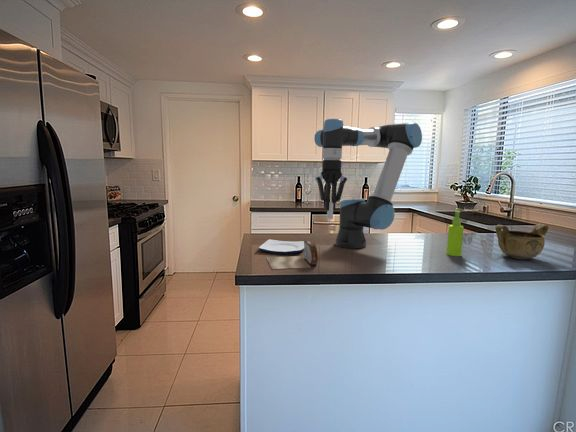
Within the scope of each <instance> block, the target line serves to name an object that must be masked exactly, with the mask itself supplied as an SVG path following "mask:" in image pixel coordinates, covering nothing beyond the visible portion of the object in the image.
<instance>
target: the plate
mask: <svg viewBox="0 0 576 432" xmlns="http://www.w3.org/2000/svg"><path fill="white" fill-rule="evenodd" d="M304 241H305V240H303V241H302V240H301V241H299V240H298V241H287V240H286V241H285V240H276V239H267V240H266V241H265V242H263V244H261V245H260V246H259V247H258V250H259V251H262V252H265V253H270V254H276V255H278V254H279V255H292V254H293V255H294V254H298V253H300V252H303V250H304Z"/></svg>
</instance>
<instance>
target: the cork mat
mask: <svg viewBox="0 0 576 432" xmlns="http://www.w3.org/2000/svg"><path fill="white" fill-rule="evenodd" d="M265 259H266V261H267V263H268V264H269V266H270V268H271V270H272V271H273V270H293V269H295V270H296V269H311V268H312V267H311V265H310V264H309V263H308V261H307V260H306V259H304V258H303V256H301V255H295V256H292V255H291V256H274V257H273V256H272V257H271V256H270V257H265Z"/></svg>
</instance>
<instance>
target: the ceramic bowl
mask: <svg viewBox="0 0 576 432" xmlns="http://www.w3.org/2000/svg"><path fill="white" fill-rule="evenodd" d="M548 230H549V226H548V224H545V223H544V224H543V223H538V224H536V225H535V226H534V227H533V229H532V231H527V230H526V231H523V230H515V229H509V228H508V227H507V225H504V224H496V226H495V233H496V237H497V241H498V242H497V243H498V247H499V249H500V250H501V252H502V253H503V254H504V255H506V256H508V257H510V258H512V259H516V260H530V259H532V258H535V257H537V256H539V255H541V253H542V252H543V250H544V247H545V244H546V243H545V236H546V234H547V233H548Z"/></svg>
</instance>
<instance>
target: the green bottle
mask: <svg viewBox="0 0 576 432" xmlns="http://www.w3.org/2000/svg"><path fill="white" fill-rule="evenodd" d="M454 213H455V214H454V216H453V218H452V223H451V224H449V225H448V234H447V244H446V245H447V246H446V254H447V255H448V256H451V257H461V256H462V247H463V237H464V229H465V228H464V226H463V225H461V223H462V218H461V217H460V215H461V214H460V213H461V210H459V209H457V210H456V209H455V210H454Z"/></svg>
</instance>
